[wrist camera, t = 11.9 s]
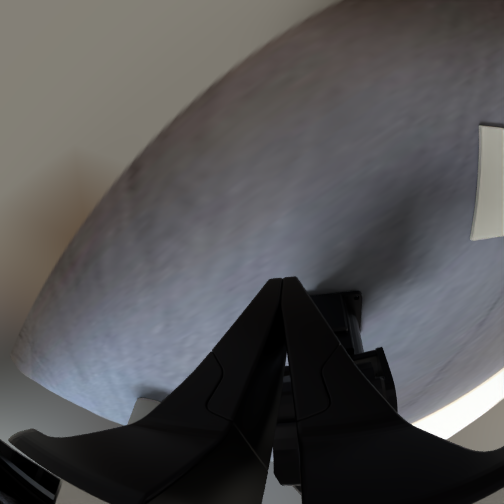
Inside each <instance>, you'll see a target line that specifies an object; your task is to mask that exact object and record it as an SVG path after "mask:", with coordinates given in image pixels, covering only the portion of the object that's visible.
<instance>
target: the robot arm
mask: <svg viewBox="0 0 504 504" xmlns="http://www.w3.org/2000/svg"><path fill="white" fill-rule="evenodd" d="M355 296H358V297H355ZM361 308H362V295H361V292H360V291H350V292H342V293H334V294H325V295H316V296H309V294H308V293H307V291H306V290H305V288H304V287H303V285H302V284H301V282H300V281H299V280H298V278H297V277H295V276H294V277H285V278H283V279H282V278H273V279H269V280H268V281H267V283H266V284H265V285H264V286H263V288H262V289H261V290H260V291H259V293H258V294H257V295H256V296H255V298H254V299H253V300H252V301H251V303H250V304H249V305H248V306H247V308H246V309H245V310H244V311H243V313H242V314H241V315H240V316H239V318H238V319H237V320H236V321H235V323H234V324H233V325H232V326H231V327H230V329H229V330H228V331H227V332H226V334H225V335H224V336H223V337H222V338H221V340H220V341H219V342H218V343H217V345H216V346H215V347H214V348H213V349H212V352H210V353H209V354H208V355H207V356H206V358H205V359H204V360H203V361H202V362H201V363H200V365H199V366H198V367H197V368H196V369H195V370H194V371H193V372H192V373H191V374H190V375H189V376H188V377H187V378H186V379H185V380H184V381H183V382H182V383H181V384H180V385H179V386H178V387H177V388H176V389H175V390H174V391H173V392H172V393H171V394H170V395H168V396H167V397H166V398H165V399H164V400H163V401H162V402H161V403H160V404H159V405H157V406H156V407H155V408H154V409H153V410H152V411H151V412H150V413H148V414H147V415H146V416H144V417H143V418H141V419H140V420H138V421H136V422H134V423H132V424H129V425H125V426H122V427H117V428H113V429H108V430H104V431H100V432H94V433H89V434H83V435H77V436H72V437H63V438H59V437H49V436H46V435H44V434H42V433H41V432H39V431H37V430H35V429H28V430H24V431H20V432H17V433H16V434H14V435H12V436H11V437H10V438H9V442H10V443H11V444H12V445H14V446H15V447H16V448H17V449H19V450H20V451H21V452H23V453H24V454H26V455H27V456H28V457H29V458H31V459H32V460H34V461H35V462H37V463H38V464H39V465H41V466H42V467H44V468H45V469H44V468H42V467H41V466H39V465H38V464H36V463H34V462H33V461H31V460H30V459H28V458H27V457H25V456H23V455H22V454H20V453H19V452H17V451H16V450H14V449H13V448H11V447H10V446H9V445H8V444H6V443H5V442H3V441H2V440H1V439H0V504H262V499H263V494H264V489H265V484H266V479H267V474H268V469H269V463H270V458H271V453H272V447H273V457H274V475H275V477H276V478H277V480H278V481H279V483H280V484H281V485H282V486H293V487H294V488H295V489H296V490H297V491H298V492H299V493H300V495H301V496H302V504H504V446H503V447H501V448H499V449H497V450H494V451H486V452H483V451H475V450H470V449H467V448H465V447H462V446H460V445H457V444H455V443H452V442H450V441H447V440H445V439H442V438H440V437H437V436H435V435H433V434H430V433H428V432H426V431H424V430H421V429H419V428H417V427H415V426H413V425H411V424H410V423H408V422H407V421H406V420H404V419H403V418H402V417H401V416H400V415H399V414H398V411H397V397H396V390H395V385H394V381H393V377H392V374H391V371H390V368H389V365H388V362H387V359H386V356H385V353H384V350H383V348H382V347H380V348H376V350H372V351H367V352H364V350H363V345H362V340H361V335H360V322H361ZM286 355H287V356H288V363H289V366H285V362H286ZM46 469H47V470H49V471H50V472H51V473H50V472H49V471H47V470H46ZM52 473H53V474H52ZM55 475H56V476H55ZM57 476H58V477H57ZM60 478H61V479H60Z"/></svg>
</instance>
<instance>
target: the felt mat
mask: <svg viewBox="0 0 504 504" xmlns="http://www.w3.org/2000/svg"><path fill="white" fill-rule="evenodd" d="M500 236H504V128H500V127H491V126H482V125H479V164H478V180H477V192H476V201H475V209H474V216H473V223H472V229H471V235H470V239H471V240H472V241H473V240H480V239H487V238H494V237H500Z"/></svg>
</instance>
